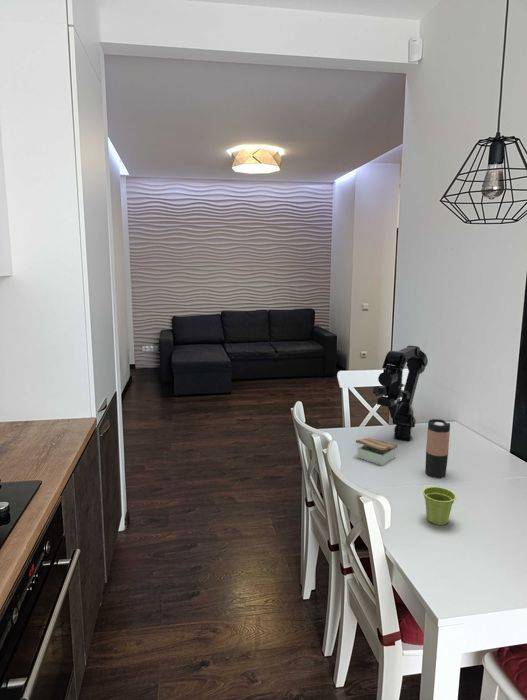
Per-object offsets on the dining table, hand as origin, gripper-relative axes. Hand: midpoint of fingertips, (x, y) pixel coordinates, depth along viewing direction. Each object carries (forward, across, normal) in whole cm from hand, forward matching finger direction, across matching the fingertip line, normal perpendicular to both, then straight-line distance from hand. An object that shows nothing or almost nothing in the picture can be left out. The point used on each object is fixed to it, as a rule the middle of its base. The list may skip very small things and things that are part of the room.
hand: (392, 417), depth 197 cm
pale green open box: (+13, +14, 0) cm, 19 cm away
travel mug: (+13, +12, +24) cm, 30 cm away
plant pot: (+14, +43, +37) cm, 58 cm away
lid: (+8, +14, +1) cm, 16 cm away
